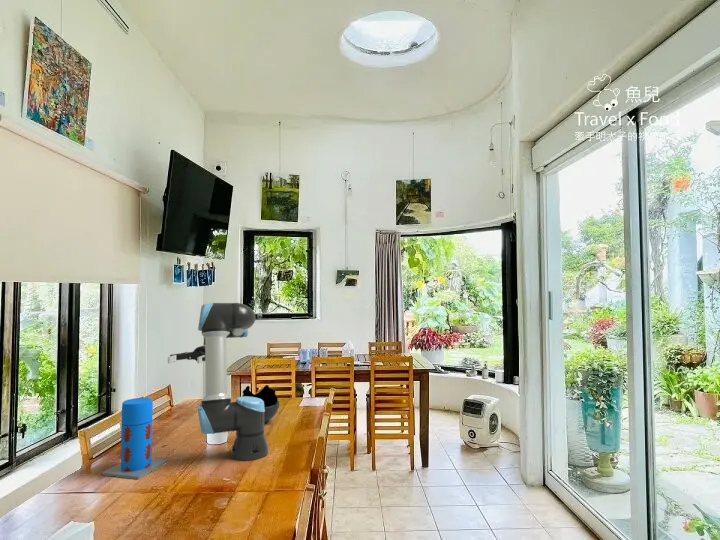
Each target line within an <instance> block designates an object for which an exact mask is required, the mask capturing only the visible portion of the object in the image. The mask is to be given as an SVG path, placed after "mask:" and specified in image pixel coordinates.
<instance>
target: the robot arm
mask: <svg viewBox="0 0 720 540" xmlns="http://www.w3.org/2000/svg"><path fill="white" fill-rule="evenodd" d="M199 313H200V314H199V320H198V321H199V322H198V328H197V330H198V331H200V332H201V335H202V337H203V345H200V346H197V347H195V349H194V350H193V351H190V352H188V351H185V352H182V353H173V354H172V353H171V354H170V355H169V356H168V357H167V364H171V363H175V362H177V361H183V360H188V361H191V360H192V361H194V360H195V361H196V363H197V364H202V363H204V362H205V363H204V364H205V365H204V367H205V368H204V369H205V370H204V371H205V373H204V374H205V375H204V376H205V377H204V378H205V380H204V381H205V382H204V383H205V392H204V394H205V395H204V397H203V398H202V399H201V404H198V406H197V411H198V412H197V413H198V420H199V421H198V422H199V429H200V432H201V433H202V434H203V435H211V434H212V435H215V434H219V433H222V434H223V433H228V432H235V438H234V442H233V445H232V448H231V458H232V459H235V460H237V461H252V460H258V459H261V458H263V457H266V456H267V455H268V453H269V444H268V441H267V438H266V436H265V422H264V412H265V409H264V402H263V400H262V399H260V398H256V397H248V396H244V397H242V396H238V397H236V400H235V401H232V399H231V396H230V395H229V394H228V384H227V383H228V382H227V380H228V379H227V377H228V376H227V369H228V368H227V339H231V338H248V336H249V329H251V327H252V326H253V325H254V324H255V322H256V313H255V312H254V310H253V309H252V308H251V307H250V306H248V305H246V304H243V303H239V302H211V303H203V304H202V305H201V307H200V312H199Z"/></svg>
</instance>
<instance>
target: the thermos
mask: <svg viewBox="0 0 720 540" xmlns="http://www.w3.org/2000/svg"><path fill="white" fill-rule="evenodd" d="M153 408H154V403H153V399H152V397H136V398H135V397H134V398H129V399H126V400H124V401H122V405H121V433H120V435H121V437H120V439H121V440H120V463H121V470H123V471H128V472H132V471H138V470H142V469H145V468H147V467H149V466H150V465H151V460H152V459H153V458H152V455H153V418H154V417H153V413H154V411H153Z"/></svg>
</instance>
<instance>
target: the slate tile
mask: <svg viewBox="0 0 720 540" xmlns="http://www.w3.org/2000/svg"><path fill="white" fill-rule="evenodd" d="M167 462H169V461H168V459H162V458H161V459H160V458H152V460H151V465H150V466H149V467H147V468H145V469H142V470H138V471H132V472H128V471H123V470H121V462H120V463H118V464H116V465H115V466H112V467H110V468H108V469H106V470H105V471H103V472H102V474H101V476H104V475H105V476H107V477H113V476H116V477H115V478H122V477H123V478H122V479H130V478H131V480H140V479H142V478H144V477H145V476H147V475H148V473H149V474H150V472H151V471H152V472H154V471H156V470H157V469H159V468H160V466H161V467H162V465H163V464H164V465H166V464H168V463H167ZM165 463H166V464H165ZM164 465H163V466H164ZM158 467H159V468H158ZM156 468H157V469H156ZM155 469H156V470H155ZM153 470H154V471H153ZM152 472H151V473H152ZM143 476H144V477H143Z"/></svg>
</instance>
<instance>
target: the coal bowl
mask: <svg viewBox="0 0 720 540" xmlns="http://www.w3.org/2000/svg"><path fill="white" fill-rule="evenodd" d="M250 388H251V387H250V386H249V385H246V386H245V388H244V389H243V390H242V396H241V397H244V396H248V397H256V398H260V399H262V400H263V402H264V409H265V412H264V423H266V422H269V421H270V420H271V419H273V418H274V417H275V415H276V414H277V412H278V410H279V407H280V401H279V400H278V396H277V394H276V391H275V390H274V389H273V388H271V387H269V385H267V384H266V385H264V386H263V387H262V388H261V390H259V392H257V393H255V394H254V393H253V392H252V391H251V389H250Z"/></svg>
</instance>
